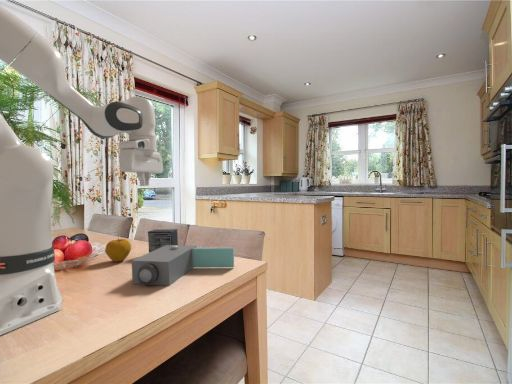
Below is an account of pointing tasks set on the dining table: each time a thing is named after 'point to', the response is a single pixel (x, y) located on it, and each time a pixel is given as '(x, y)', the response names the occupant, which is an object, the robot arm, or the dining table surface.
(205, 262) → the side door
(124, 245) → the apple
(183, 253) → the block
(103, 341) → the dining table surface
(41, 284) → the robot arm
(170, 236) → the small box
